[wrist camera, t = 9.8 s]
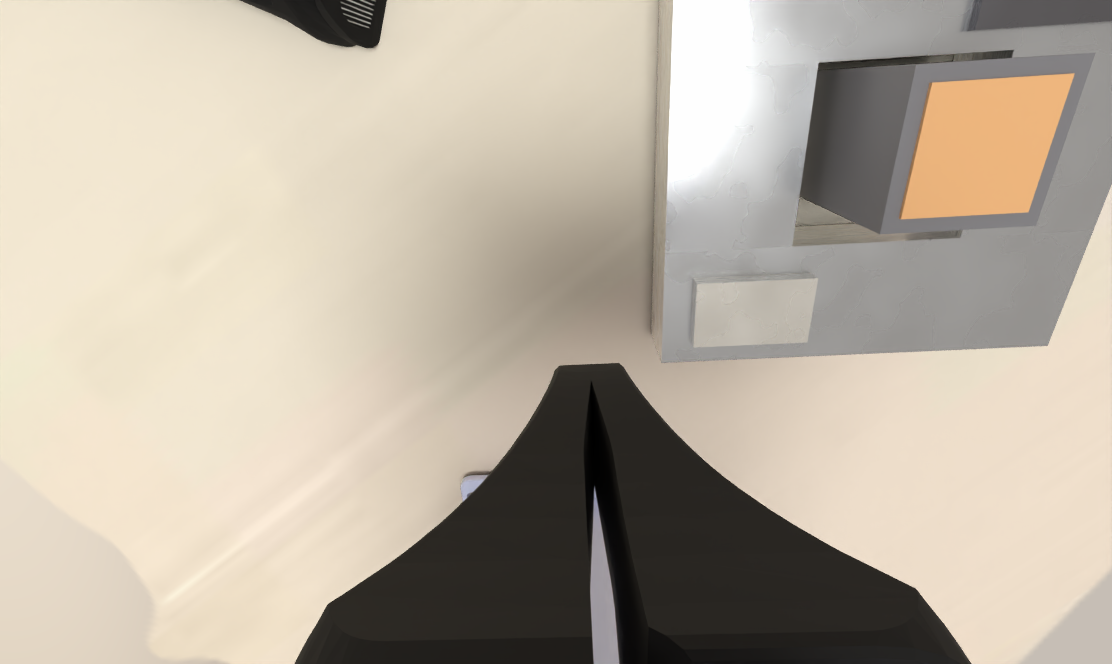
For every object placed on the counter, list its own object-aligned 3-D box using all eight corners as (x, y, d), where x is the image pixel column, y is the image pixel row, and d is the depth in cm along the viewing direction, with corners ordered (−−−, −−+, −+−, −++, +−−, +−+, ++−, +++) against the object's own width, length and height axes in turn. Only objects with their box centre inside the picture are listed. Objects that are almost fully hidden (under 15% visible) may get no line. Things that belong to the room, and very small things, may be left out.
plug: (900, 185, 19) (1039, 227, 13) (790, 191, 19) (881, 235, 14) (928, 62, 17) (1099, 52, 12) (805, 71, 17) (918, 64, 12)
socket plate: (995, 317, 21) (1062, 353, 18) (651, 333, 22) (664, 370, 19) (1144, -121, 15) (1276, -168, 12) (661, -84, 16) (682, -121, 13)
